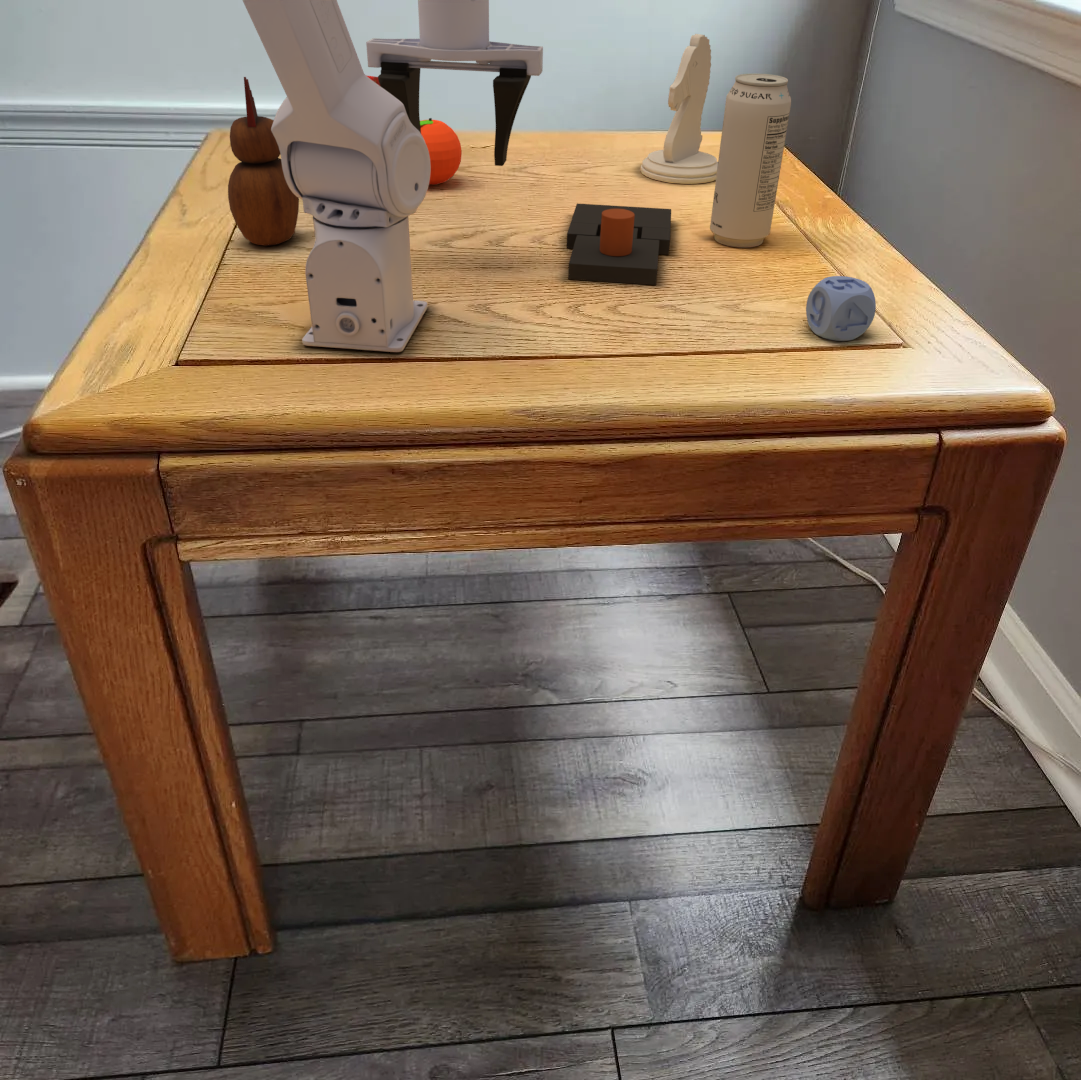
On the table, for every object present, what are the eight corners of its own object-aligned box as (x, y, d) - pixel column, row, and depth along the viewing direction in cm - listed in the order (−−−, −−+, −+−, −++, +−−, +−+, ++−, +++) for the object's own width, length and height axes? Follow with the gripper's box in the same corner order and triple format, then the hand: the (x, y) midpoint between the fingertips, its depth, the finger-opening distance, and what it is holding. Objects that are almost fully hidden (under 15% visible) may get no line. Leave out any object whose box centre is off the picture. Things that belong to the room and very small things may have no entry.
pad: (655, 285, 86) (661, 230, 83) (568, 279, 87) (570, 224, 84) (658, 244, 95) (663, 193, 92) (579, 239, 96) (581, 188, 93)
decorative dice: (869, 338, 78) (881, 291, 75) (826, 343, 77) (836, 295, 74) (843, 319, 81) (853, 273, 78) (801, 324, 80) (810, 277, 77)
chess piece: (625, 173, 116) (635, 35, 107) (665, 157, 122) (678, 26, 114) (696, 188, 111) (713, 46, 102) (734, 171, 118) (753, 35, 109)
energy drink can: (724, 226, 100) (746, 69, 92) (778, 238, 98) (805, 77, 89) (698, 240, 96) (717, 78, 88) (752, 253, 94) (778, 87, 85)
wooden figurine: (284, 254, 91) (260, 82, 82) (227, 248, 92) (198, 77, 83) (311, 231, 96) (292, 68, 87) (258, 226, 97) (233, 64, 88)
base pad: (668, 255, 93) (670, 239, 92) (566, 248, 94) (567, 233, 93) (670, 223, 101) (671, 208, 100) (576, 217, 102) (576, 203, 101)
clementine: (418, 197, 106) (414, 129, 102) (383, 183, 110) (378, 117, 106) (474, 185, 111) (473, 119, 106) (439, 172, 115) (436, 108, 111)
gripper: (549, -19, 79) (545, 153, 87) (378, -26, 80) (389, 144, 88) (537, -10, 73) (534, 174, 81) (353, -18, 74) (368, 164, 82)
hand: (457, 160), depth 84 cm, fingers open, 7 cm apart
